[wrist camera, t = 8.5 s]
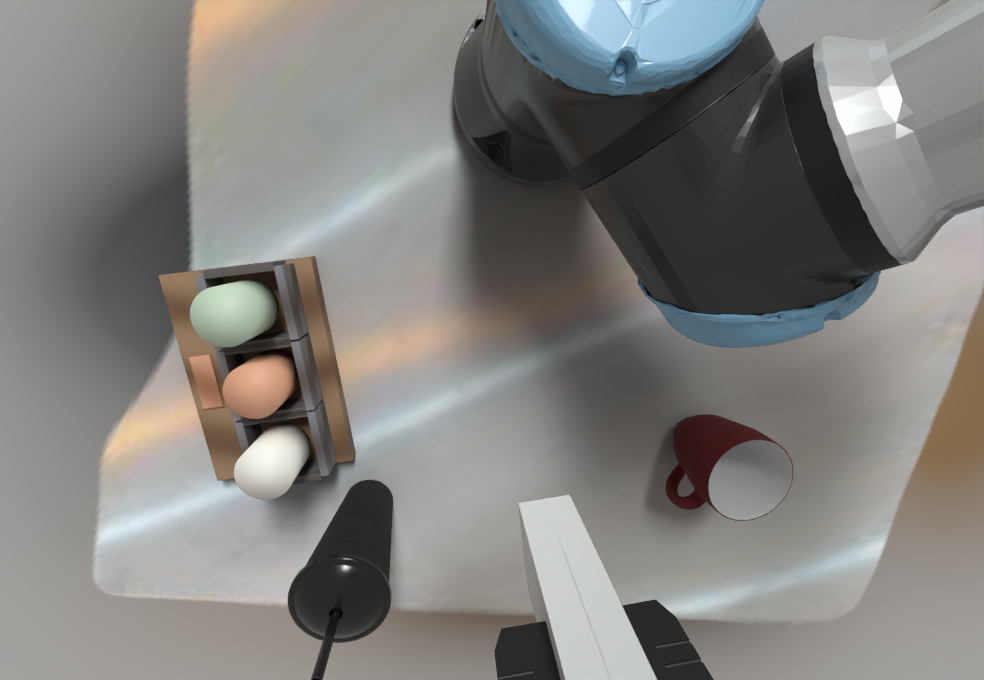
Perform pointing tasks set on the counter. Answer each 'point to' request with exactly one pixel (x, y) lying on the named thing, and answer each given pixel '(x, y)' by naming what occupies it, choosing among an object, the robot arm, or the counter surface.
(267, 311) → the pale green rounded cylinder
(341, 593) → the drinking cup
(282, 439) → the button ivory
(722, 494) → the mug
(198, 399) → the wooden compartment tray
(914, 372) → the counter surface
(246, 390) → the button terracotta
